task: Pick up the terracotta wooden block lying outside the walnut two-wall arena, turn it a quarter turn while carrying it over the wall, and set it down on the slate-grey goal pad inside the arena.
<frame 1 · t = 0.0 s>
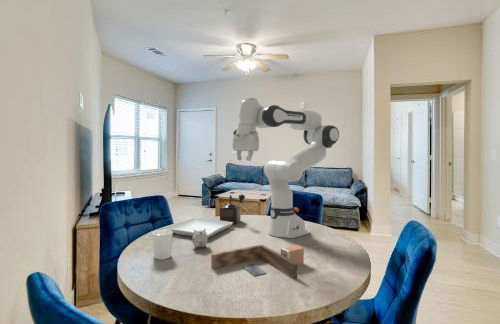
hand: (243, 160, 133), 39 cm above the table, tool pointing down, fingers open, 8 cm apart
game die: (200, 247, 124), on the table
block: (292, 263, 107), on the table
dark brown coffee grinder: (234, 222, 168), on the table
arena: (253, 270, 101), on the table
white cup: (162, 257, 113), on the table
square plate: (200, 231, 150), on the table
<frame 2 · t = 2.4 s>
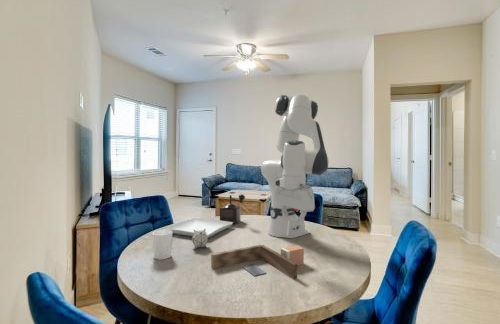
hand: (292, 219, 106), 17 cm above the table, tool pointing down, fingers open, 8 cm apart
nothing on the table moved.
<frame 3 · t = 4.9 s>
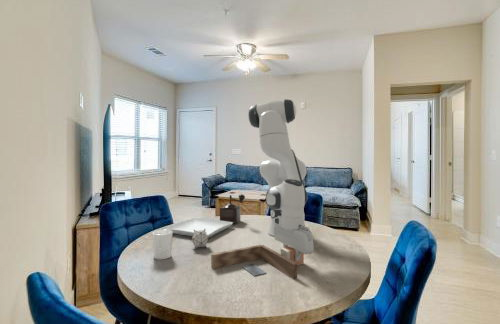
hand: (292, 257, 107), 2 cm above the table, tool pointing down, fingers closed on block, 4 cm apart
block: (292, 263, 107), on the table, touching gripper
everything else where it was.
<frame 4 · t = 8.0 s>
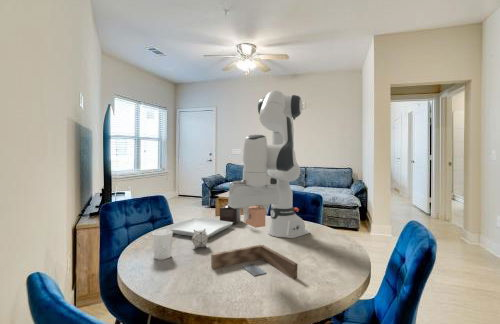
hand: (254, 218, 100), 19 cm above the table, tool pointing down, fingers closed on block, 4 cm apart
block: (254, 224, 100), point 17 cm above the table, touching gripper
everything else where it was.
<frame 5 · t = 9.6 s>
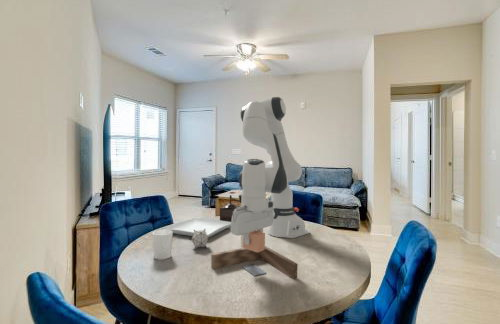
hand: (252, 242, 100), 10 cm above the table, tool pointing down, fingers closed on block, 4 cm apart
block: (252, 248, 100), point 8 cm above the table, touching gripper
everything else where it was.
when the fingers open (4 cm above the table, at t = 11.1 s): block drops 1 cm, resting on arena.
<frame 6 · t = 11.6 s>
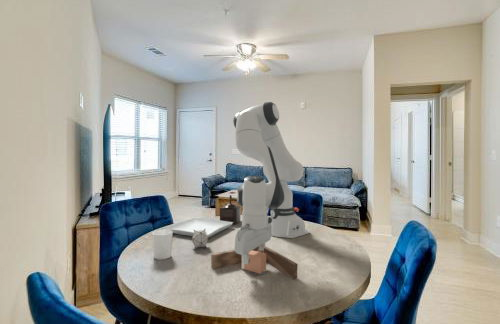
hand: (253, 259, 101), 4 cm above the table, tool pointing down, fingers open, 8 cm apart
block: (253, 269, 101), resting on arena
everything else where it was.
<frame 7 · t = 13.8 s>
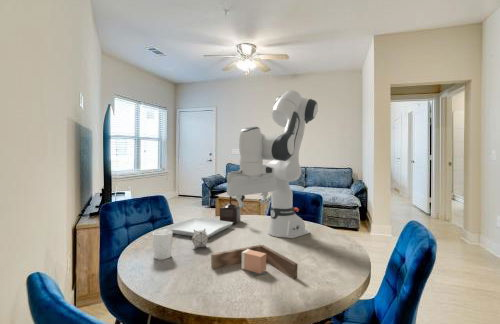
hand: (252, 205, 107), 22 cm above the table, tool pointing down, fingers open, 8 cm apart
nothing on the table moved.
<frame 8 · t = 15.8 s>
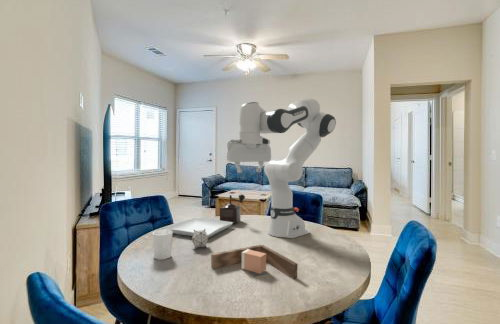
hand: (249, 172, 119), 34 cm above the table, tool pointing down, fingers open, 8 cm apart
nothing on the table moved.
at the end: block 0.1 cm off-centre on the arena, point 0.3 cm above the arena's base; block tilted 0°; the gripper is holding nothing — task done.
